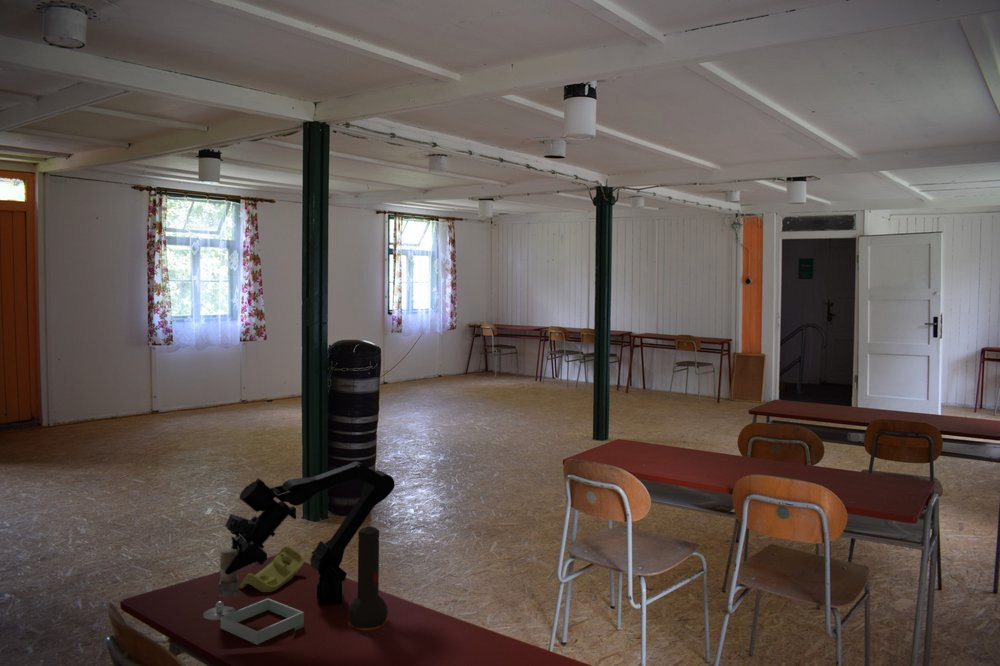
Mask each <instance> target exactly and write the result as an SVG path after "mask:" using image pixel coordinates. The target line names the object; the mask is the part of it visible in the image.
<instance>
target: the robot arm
mask: <svg viewBox="0 0 1000 666" xmlns="http://www.w3.org/2000/svg"><path fill="white" fill-rule="evenodd" d="M356 479H360V480H362V481H364V484H363V486H362V487H363V488H362V493H361V494H360V496H359V498H358V500H357V502H356V503H355V504H354V505H353V507H352V508H351V510H350V511H349V513H348V514H347V515H346V517H345V519H344V520H343V521H342V523H341V524H340V526H339V527H338V529H337V530H336V531H335V532H334V534H333V535H332V536H331V538H330V539H329V540H327V541H326V542H324V541H322V540H321V541H319V542H318V544H317V546H316V547H315V549H314V550H313V551H311V554H312V555H311V556H310V559H309V562H310V566H311V568H312V569H313V570H314V571H315V572H317V575H319V579H318V581H317V584H316V600H317V601H318V602H317V603H318V605H330V604H342V603H343V601H344V592H343V590H344V588H343V585H344V584H343V583H344V582H345V580H346V577H347V572H346V571H345V570H343V569H342V568H341V567H340V565H341V563H342V561H343V557H344V555H345V550H346V548H347V547H348V545H349V543H350V542H351V541H352V539H353V538H354V537H355V535H356V534H357V532H359V530H360V529H361V527H362V525H363V524H364V522H365V521H366V519H367V518H368V517H369V515H370V513H371V512H372V510H373V509H374V508H375V506H376V505H378V504H379V503H382V501H384V500H385V499H386V498H387V497H388V496H389V495H390V494H391V493H392V492H393V491H394V488H395V486H396V485H395V480H394V478H393V476H392V475H389V474H387V473H385V472H384V471H382V470H377V469H376V470H373V469H371V468H369V467H367V466H366V465H365V464H363V463H361V462H360V461H357V460H356V461H355V460H354V461H353V462H351V463H348V464H347V465H343V466H340V467H337V468H335V469H331V470H329V471H326V472H323V473H321V474H320V473H319V474H318V475H314V476H310V477H298V478H293V479H291V478H290V479H287V480H286V481H284V482H283V483H282V484H280V485H277V486H274V487H273V486H272V487H269V486H268V485H267V484H265V482H264V481H263V480H262V479H260V478H257V479H255V481H252V482H251V483H250V484H248V485H246V486H245V487H244V488H243V489H242V491H241V493H239V494H240V495H239V500H241V502H243V503H245V504H246V506H248V507H249V508H250V509H252V510H253V511H254V512H256V513H257V512H258V513H259V512H260V511H261V513H260V514H259V515H258V516H256V515H255V516H253V517H252V518H251V519H248V518H245V517H242V516H239V515H236V514H230V515H229V517H228V519H227V521H226V524H225V527H226V529H227V530H228V531H229V532H230V533H231V534H232V535H235V537H234V536H231V547H230V549H236V550H237V555H236V556H235V558H234V559H233V560H232V562H231V563H230V565H229V566H228V568H227V569H226V571H225V573H226V574H227V575H229V574H231V573H233V572H235V571H237V572H238V570H241V569H243V568H245V567H247V566H250V565H252V564H256V563H258V564H260V565H261V566H262V565H264V564H265V562H266V561H267V560H268V554H267V552H266V551H265V549H264V548H265V545H264V543H266V541H267V540H268V539H270V537H274V536H275V535H276V531H277V529H278V528H279V527H280V526H281V524H282V523H283V522H284V521H285V520H286V519H287V518H288V517H291V518H292V519H294V520H296V519H297V508H296V507H297V506H301V505H302V504H304V503H306V502H308V501H309V500H311V499H313V498H314V497H316V495H317V494H319V493H321V492H325V491H326V490H329V489H332V488H335V487H337V486H340V485H342V484H346V483H348V482H351V481H354V480H356ZM275 498H276V499H278V500H279V502H278V501H277V500H275ZM286 503H288V504H290V505H292V506H289V505H288V504H286Z"/></svg>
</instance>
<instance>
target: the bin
mask: <svg viewBox="0 0 1000 666" xmlns="http://www.w3.org/2000/svg"><path fill="white" fill-rule="evenodd" d="M266 611H269V612H271V613H274V614H276V615H279V616H282V617H284V618H285V619H282V620H279V621H278V622H276V623H273V624H271V625H268V626H266V627H264V628H261V629H259V630H255V629H253V628H250V627H248V626H247V625H244V624H242V623H240V622H242V621H244V620H247V619H249V618H251V617H255V616H257V615H259V614H262V613H263V612H266ZM304 627H305V611H302V610H300V609H297V608H294V607H291V606H290V605H286V604H284V603H281V602H278V601H276V600H274V599H271V598H269V597H267V598H265V599H263V600H260V601H258V602H255V603H252V604H250V605H247V606H245V607H243V608H240V609H237V610H236V611H235V612H232V613H229V614H227V615H224V616H222V617H221V619H220V629H221V630H224V631H226V632H228V633H231V634H232V635H235V636H237V637H239V638H241V639H243V640H245V641H248V642H250V643H252V644H255V645H256V646H253V648H255V649H259V648H261V647H262V646H261V645H260V646H257V645H259V644H261V643H263V642H267V640H270V639H273V638H275V637H276V636H278V635H281V634H284V633H285V632H287V631H290V630H292V629H294V630H293V632H296V631H298V630H300V629H302V628H304Z"/></svg>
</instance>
